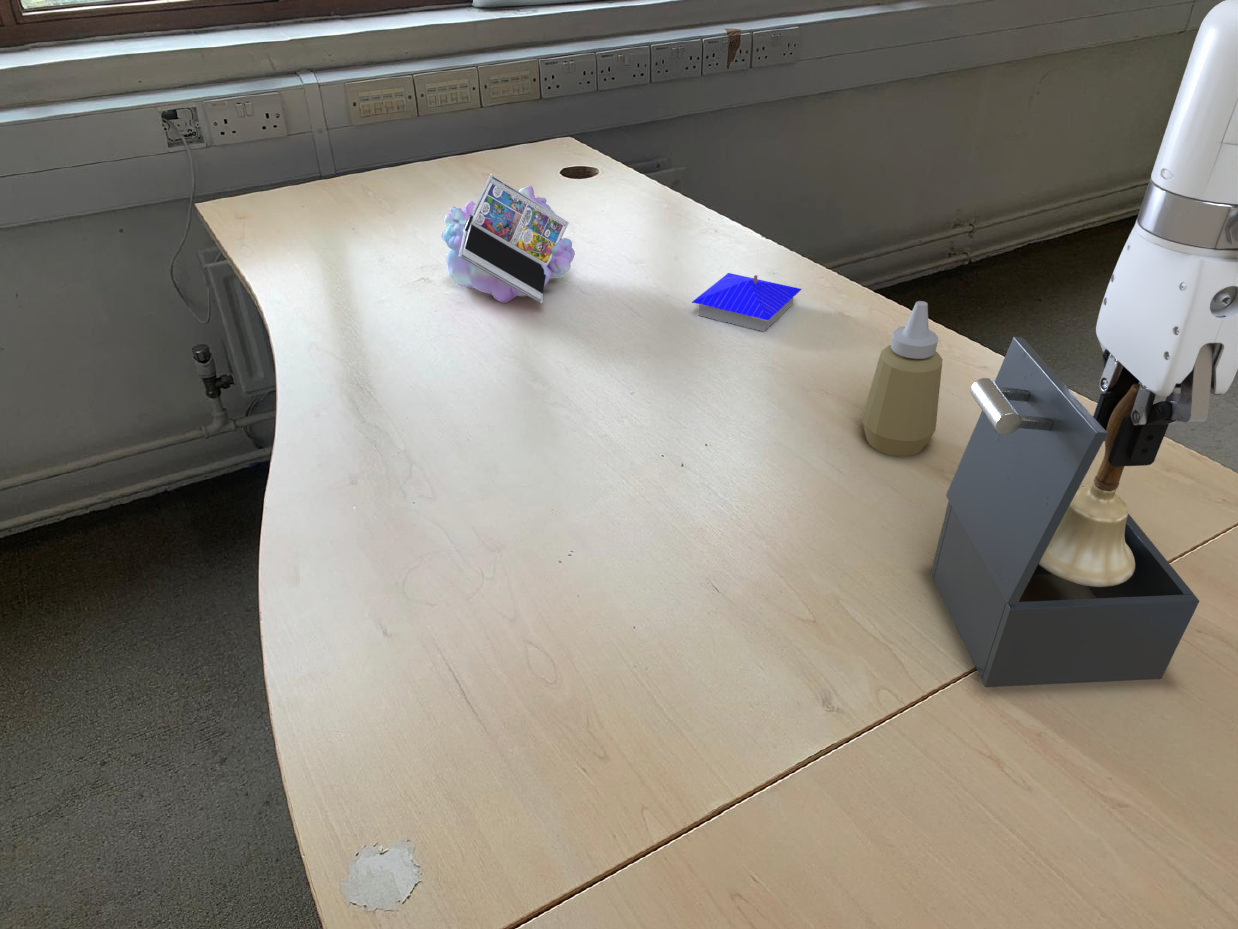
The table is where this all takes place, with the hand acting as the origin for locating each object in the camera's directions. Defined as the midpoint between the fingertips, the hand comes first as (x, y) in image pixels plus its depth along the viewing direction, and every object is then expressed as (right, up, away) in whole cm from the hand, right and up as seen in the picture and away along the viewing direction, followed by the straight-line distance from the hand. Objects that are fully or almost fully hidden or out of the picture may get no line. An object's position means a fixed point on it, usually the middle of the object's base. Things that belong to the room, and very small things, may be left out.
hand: (1119, 449), depth 68 cm
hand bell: (0, -9, +6) cm, 11 cm away
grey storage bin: (-1, -16, +11) cm, 19 cm away
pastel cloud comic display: (-55, +27, +74) cm, 95 cm away
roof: (-19, +22, +65) cm, 71 cm away
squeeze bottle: (-6, +1, +35) cm, 35 cm away
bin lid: (-7, -1, +1) cm, 7 cm away
